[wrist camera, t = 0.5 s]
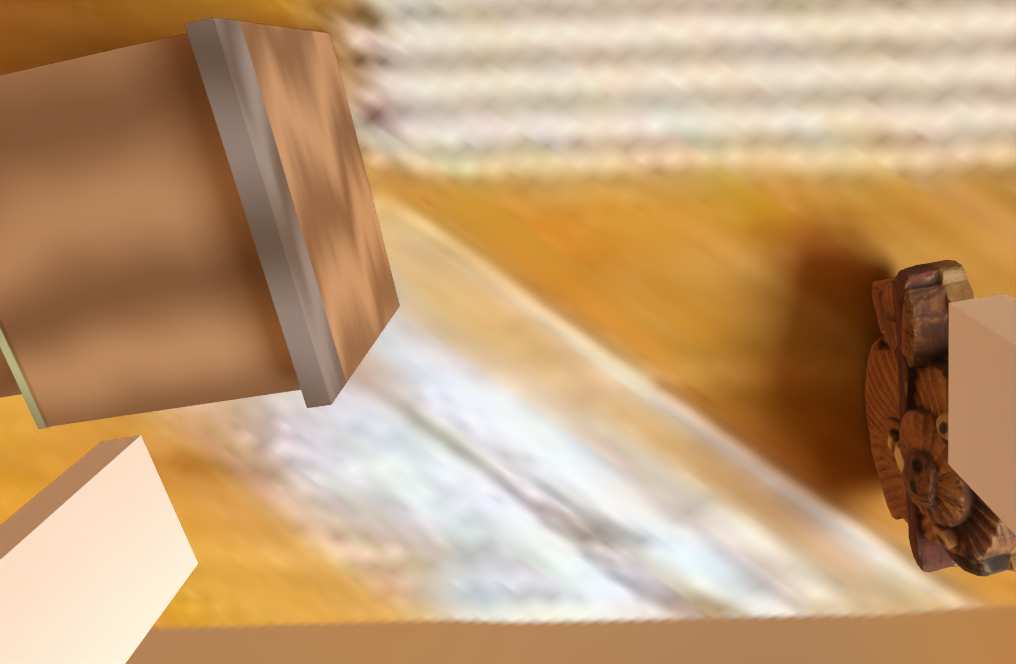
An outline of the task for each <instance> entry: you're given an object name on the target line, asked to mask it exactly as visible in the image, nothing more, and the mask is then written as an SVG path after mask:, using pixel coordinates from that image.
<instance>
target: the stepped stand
mask: <svg viewBox="0 0 1016 664" xmlns="http://www.w3.org/2000/svg"><path fill="white" fill-rule="evenodd" d="M185 27H186V30H187V33H185V34H181V35H176V36H172V37H168V38H163V39H159V40H154V41H150V42H145V43H141V44H137V45H132V46H128V47H123V48H119V49H115V50H110V51H106V52H101V53H97V54H92V55H88V56H84V57H79V58H75V59H70V60H66V61H61V62H57V63H53V64H48V65H44V66H39V67H35V68H31V69H26V70H22V71H17V72H13V73H8V74H4V75H0V397H6V396H13V395H19V394H22V395H23V397H24V399H25V401H26V403H27V405H28V407H29V410H30V412H31V414H32V416H33V418H34V420H35V422H36V425H37V427H38V429H43V428H49V427H52V426H56V425H63V424H70V423H76V422H83V421H90V420H97V419H104V418H110V417H117V416H124V415H131V414H138V413H145V412H151V411H158V410H165V409H172V408H179V407H186V406H192V405H199V404H206V403H213V402H220V401H226V400H233V399H240V398H247V397H254V396H261V395H267V394H274V393H281V392H288V391H295V390H301V391H302V394H303V397H304V400H305V403H306V406H307V408H311V407H318V406H325V405H331V404H332V403H333V401H334V400H335V399H336V397H337V396H338V394H339V393H340V391H341V390H342V388H343V387H344V386H345V384H346V383H347V381H348V380H349V378H350V377H351V375H352V374H353V373H354V371H355V370H356V368H357V367H358V365H359V364H360V363H361V361H362V360H363V358H364V357H365V355H366V354H367V352H368V351H369V350H370V348H371V347H372V345H373V344H374V342H375V341H376V339H377V338H378V337H379V335H380V334H381V332H382V331H383V329H384V328H385V326H386V325H387V324H388V322H389V321H390V319H391V318H392V316H393V315H394V313H395V312H396V311H397V309H398V308H399V306H400V305H399V302H398V298H397V294H396V290H395V286H394V282H393V278H392V274H391V270H390V266H389V262H388V258H387V255H386V251H385V247H384V243H383V239H382V235H381V231H380V227H379V223H378V219H377V215H376V211H375V207H374V204H373V200H372V196H371V192H370V188H369V184H368V180H367V176H366V172H365V168H364V164H363V160H362V157H361V153H360V149H359V145H358V141H357V137H356V133H355V129H354V125H353V121H352V117H351V113H350V110H349V106H348V102H347V98H346V94H345V90H344V86H343V82H342V78H341V74H340V70H339V66H338V63H337V59H336V55H335V51H334V47H333V43H332V39H331V35H330V33H324V32H316V31H309V30H302V29H294V28H287V27H280V26H272V25H265V24H258V23H250V22H243V21H236V20H228V19H221V18H214V17H213V18H208V19H204V20H200V21H195V22H191V23H187V24H185Z"/></svg>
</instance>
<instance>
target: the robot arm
mask: <svg viewBox="0 0 1016 664" xmlns="http://www.w3.org/2000/svg"><path fill="white" fill-rule="evenodd" d="M948 464H949V465H950V466H951V467H952V469H953V470H954V471H955V472H956V473H957V474H958V475H959V476H960V477H961V478H962V479H963V480H964V481H965V482H966V483H967V484H968V485H969V487H970V488H971V489H972V490H973V491H974V492H975V493H976V494H977V495H978V496H979V497H980V498H981V499H982V500H983V501H984V502H985V504H986V505H987V506H988V507H989V508H990V509H991V510H992V511H993V512H994V513H995V514H996V515H997V516H998V517H999V518H1000V519H1001V520H1002V522H1003V523H1004V524H1005V525H1006V526H1007V527H1008V528H1009V529H1010V530H1011V531H1012V532H1013V533H1014V534H1015V535H1016V299H1015V298H1013V297H1011V296H1009V295H1007V294H1000V295H994V296H988V297H981V298H975V299H969V300H963V301H957V302H951V303H949V392H948ZM197 564H198V562H197V560H196V558H195V556H194V553H193V551H192V549H191V547H190V545H189V542H188V540H187V538H186V536H185V533H184V531H183V529H182V527H181V524H180V522H179V520H178V518H177V515H176V513H175V511H174V509H173V506H172V504H171V502H170V500H169V497H168V495H167V493H166V491H165V488H164V486H163V484H162V482H161V479H160V477H159V475H158V473H157V470H156V468H155V466H154V464H153V462H152V459H151V457H150V455H149V453H148V450H147V448H146V446H145V444H144V441H143V439H142V437H141V435H140V436H134V437H127V438H121V439H115V440H109V441H103V442H101V443H99V444H98V445H97V446H96V447H94V448H93V449H92V450H91V451H90V452H88V453H87V454H86V455H85V456H84V457H82V458H81V459H80V460H79V461H78V462H76V463H75V464H74V465H73V466H71V467H70V468H69V469H68V470H67V471H65V472H64V473H63V474H62V475H61V476H59V477H58V478H57V479H56V480H54V481H53V482H52V483H51V484H50V485H48V486H47V487H46V488H45V489H44V490H42V491H41V492H40V493H39V494H38V495H36V496H35V497H34V498H33V499H31V500H30V501H29V502H28V503H27V504H25V505H24V506H23V507H22V508H21V509H19V510H18V511H17V512H16V513H15V514H13V515H12V516H11V517H10V518H8V519H7V520H6V521H5V522H4V523H2V524H1V525H0V664H125V663H126V662H127V660H128V659H129V657H130V656H131V655H132V653H133V652H134V651H135V649H136V648H137V646H138V645H139V644H140V642H141V641H142V640H143V638H144V637H145V636H146V634H147V633H148V631H149V630H150V629H151V627H152V626H153V625H154V623H155V622H156V620H157V619H158V618H159V616H160V615H161V614H162V612H163V611H164V609H165V608H166V607H167V605H168V604H169V603H170V601H171V600H172V598H173V597H174V596H175V594H176V593H177V592H178V590H179V589H180V587H181V586H182V585H183V583H184V582H185V581H186V579H187V578H188V577H189V575H190V574H191V572H192V571H193V570H194V568H195V567H196V566H197Z"/></svg>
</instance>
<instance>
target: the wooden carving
mask: <svg viewBox="0 0 1016 664" xmlns="http://www.w3.org/2000/svg"><path fill="white" fill-rule="evenodd" d="M872 296H873V304H874V307H875V311H876V315H877V319H878V324H879V328H880V331H881V333H882V334H883V336H882V337H880V338H879V339H877V340H876V341H875V342H874V343H873V345H872V346H871V351H870V353H869V356H868V362H867V369H866V379H865V403H866V416H867V425H868V427H869V434H870V436H869V438H870V441H871V445H870V447H871V450H872V455H873V458H874V463H875V467H876V469H877V473H878V477H879V480H880V484H881V488H882V490H883V493H884V496H885V500H886V503H887V506H888V508H889V510H890V512H891V515H892V517H894V518H895V519H896V520H897V519H901V518H903V519H905V521H906V522H907V523H908V526H909V540H910V545H911V549H912V553H913V556H914V558H915V560H916V562H917V564H918V566H919V567H920V568H921V569H922V570H923V571H924V572H933V571H936V570H940V569H944V568H947V567H957V566H960V567H961V568H962V569H963V570H965V571H967V572H969V573H972V574H974V575H977V576H989V575H992V574H996V573H999V572H1002V571H1005V570H1010V571H1015V572H1016V535H1015V534H1014V533H1013V532H1012V531H1011V530H1010V529H1009V528H1008V527H1007V526H1006V525H1005V524H1004V523H1003V522H1002V520H1001V519H1000V518H999V517H998V516H997V515H996V514H995V513H994V512H993V511H992V510H991V509H990V508H989V507H988V506H987V505H986V504H985V502H984V501H983V500H982V499H981V498H980V497H979V496H978V495H977V494H976V493H975V492H974V491H973V490H972V489H971V488H970V487H969V485H968V484H967V483H966V482H965V481H964V480H963V479H962V478H961V477H960V476H959V475H958V474H957V473H956V472H955V471H954V470H953V469H952V467H951V466H950V465H949V464H948V392H949V303H951V302H957V301H963V300H969V299H975V297H974V293H973V291H972V288H971V286H970V284H969V282H968V278H967V275H966V272H965V270H964V268H963V266H962V265H961V264H959V263H958V262H956V261H952V260H944V261H938V262H933V263H928V264H921V265H916V266H913V267H909V268H906V269H904V270H901V271H899V273H898V274H897V276H895V277H893V278H889V279H884V280H879V281H874V282H873V283H872Z"/></svg>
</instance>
